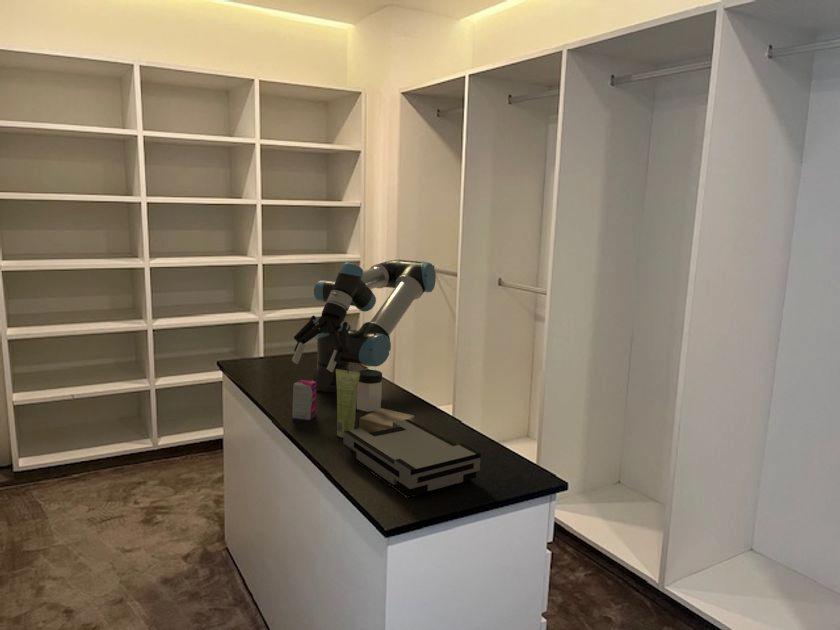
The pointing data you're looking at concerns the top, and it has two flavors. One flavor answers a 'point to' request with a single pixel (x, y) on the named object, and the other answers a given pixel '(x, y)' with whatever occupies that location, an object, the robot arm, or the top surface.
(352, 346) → the robot arm
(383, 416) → the oak block
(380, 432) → the game console
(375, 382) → the jar
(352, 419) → the tube
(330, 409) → the top surface
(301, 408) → the supplement box
